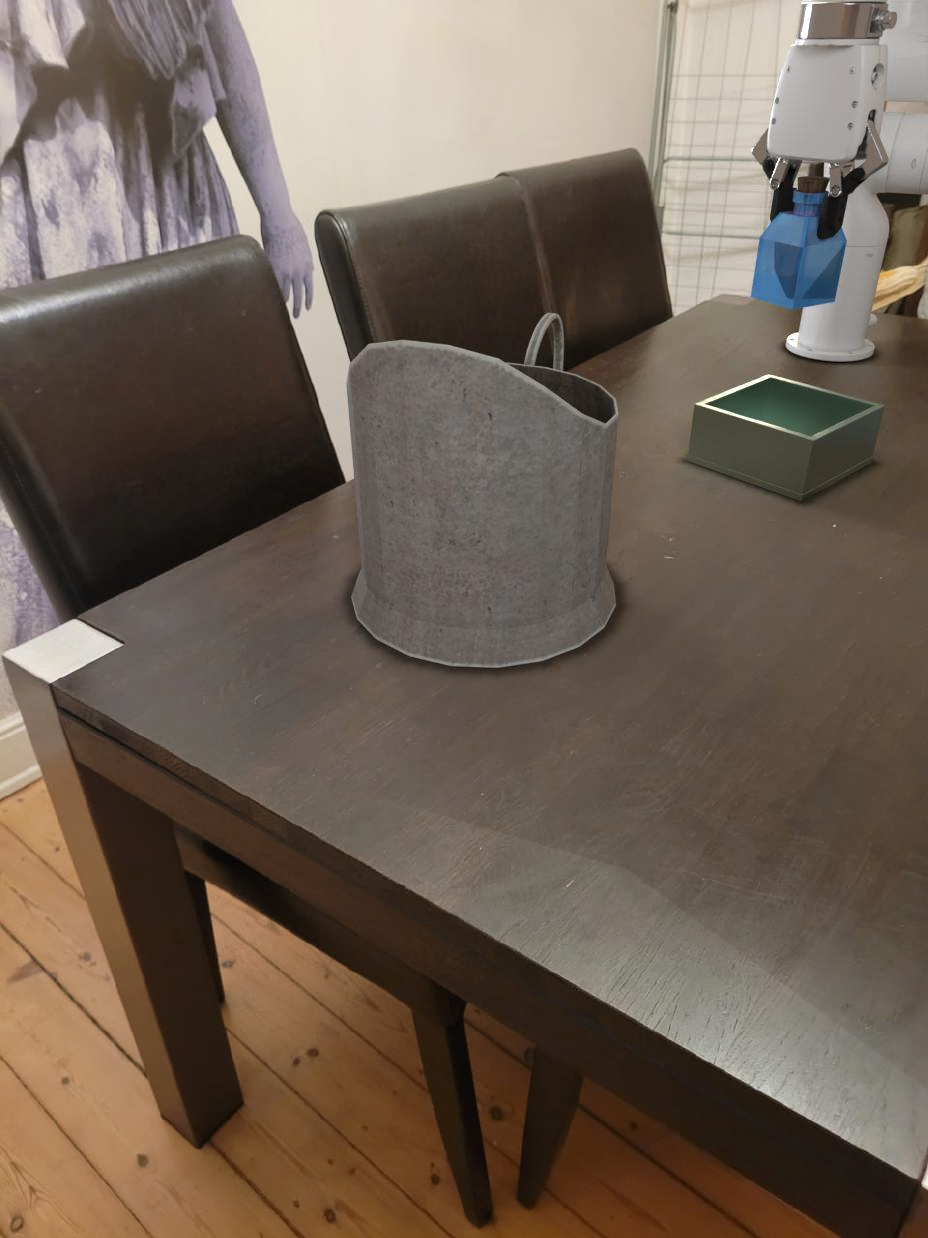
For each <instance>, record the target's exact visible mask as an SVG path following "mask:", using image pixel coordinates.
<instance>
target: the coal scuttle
mask: <svg viewBox="0 0 928 1238" xmlns="http://www.w3.org/2000/svg"><path fill="white" fill-rule="evenodd" d="M550 325H551V327H552V332H553V364H552V368H551V367H548V366H541V365H536V360H537V356H538V353H539V349H540V346H541V343H542V341H543V339H544V336H545V333H546V331H547V329H548V328H549V326H550ZM564 333H565V332H564V325H563V320H562V318H561V316H560V315H559V314H558V313H554V312H547V313H545V314H544V315H543V316H542V317H541V318H540V319H539V321H538V323H537V324H536V326H535V328H534V330H533V332H532V335H531V338H530V340H529V342H528V346H527V349H526V353H525V357H524V361H523V363H516V362H505V361H503V360H502V359H500V358H498V357H494V356H491V355H487V354H484V353H480V352H476V351H473V350H469V349H466V348H462V347H458V346H453V345H450V344H445V343H444V344H443V343H435V342H426V341H419V340H409V339H398V340H391V341H383V342H372V343H368V344H367V345H366V346H365V347H364V348H363V349H361V351H360V352H359V353H358V354H357V356H355V358H353V360H351V362H350V363H349V365H348V371H347V377H346V383H345V384H346V395H347V396H346V397H347V398H346V399H347V408H348V410H347V411H348V421H349V432H350V445H351V457H352V467H353V470H352V471H353V480H354V481H353V483H354V495H355V505H356V516H357V518H356V519H357V528H358V529H357V531H358V541H359V553H360V566H361V568H360V570H359V573H358V575H357V578H356V582H355V584H354V588H353V590H352V592H351V596H350V598H351V602H352V605H353V609H354V613H355V617H356V620H357V621H358V622H359V623H360V624H361V625H362V626H363V627H364V628H365V629H366V630H367V631H368V633H370V635H371V636H372V637H373V638H374V639H375V640H376V641H378V642H380V643H382V644H384V645H386V646H388V647H390V648H392V649H394V650H396V651H397V652H400V653H402V654H404V655H406V656H407V657H409V658H410V657H411V658H415V659H419V660H423V661H427V662H431V663H435V664H440V665H444V666H449V667H459V668H460V667H461V668H484V669H485V668H487V669H489V668H490V669H500V668H506V667H512V666H520V665H526V664H533V663H540V662H544V661H546V660H549V659H552V658H554V657H557V656H560V655H563V654H564V653H567V652H570V651H573V650H576V649H578V648H580V647H581V646H583V645H584V644H585V643H587V642H588V641H589V640H590V639H592V638H593V637H594V636H596V635H597V634H598V633H600V632H601V631H602V630H604V629H605V627H606V626H607V624H608V621H609V620H610V617H611V616H612V614H613V612H614V610H615V608H616V606H617V602H616V593H615V584H614V581H613V578H612V576H611V572H610V571H609V568H608V566H607V558H608V547H609V535H610V524H611V523H610V522H611V513H612V512H611V509H612V501H613V500H612V498H613V487H614V486H613V485H614V474H615V463H616V462H615V461H616V450H617V437H618V426H619V408H618V402H617V399H616V398H615V397H614V396H613V395H612V393H610V392H609V391H608V390H606V388H605V387H603V386H602V385H601V384H599V383H597V382H594V381H592V380H590V379H588V378H585V377H583V376H581V375H578V374H576V373H573V372H568V371H564V357H565V356H564V354H565V352H564V351H565V334H564Z"/></svg>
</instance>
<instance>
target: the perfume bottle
mask: <svg viewBox="0 0 928 1238" xmlns="http://www.w3.org/2000/svg"><path fill="white" fill-rule="evenodd" d="M828 183H829V178H827V177H824V176H820V175H819V176H818V175H803V176H797V190H794V193H793V199H792V201H793V202H795V204H794V210H793V211H787V212H779V215H777V216H776V218H775V219H774V220H773V221H772V222H771V221H770V223H769V225H768V226H767V227H766V228H765V229H764V231H763V232H762V234H760V236H759V238H758V246H757V253H756V257H755V258H756V259H755V265H754V273H753V279H752V286H751V292H750V298H752V299H756V300H760V301H762V302H766V303H769V304H772V305H775V306H779V307H782V308H785V309H789V310H792V311H793V310H799V309H803V308H804V307H810V306H815V305H820V304H826V303H831V302H835V298H836V293H837V288H838V283H839V278H840V273H841V268H842V263H843V258H844V253H845V248H846V243H847V239H846V237H845V235H844V232H843V230H842V227H841V229H840V230H839V231H838V232H837V234H836V235H835V236H834V237H831V238H827V239H818V237H817V229H818V224H819V218H820V213H821V207H822V202H823V199H824V198H825V196H828V195H829V191H826V188H827V185H828Z"/></svg>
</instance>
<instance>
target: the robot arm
mask: <svg viewBox="0 0 928 1238" xmlns="http://www.w3.org/2000/svg"><path fill="white" fill-rule="evenodd" d="M799 12H800V13H799V18H798V25H797V31H796V39H795V43H794V44H789V47H788V50H787V52H786V55H785V58H784V61H783V64H782V66H781V71H780V73H779V77H778V81H777V86H776V89H775V94H774V97H773V102H772V107H771V110H770V111H771V112H770V118H769V122H768V127H767V129H765V131H764V132H763V134H762V135H761V136H760V137H759V138H758V141H756V142H755V144H754V145H753V146H752V148H751V155H752V156H753V158H754V159H755V160H756V161H757V163H759V165H760V166H761V168H762V170H763V172H764V174H765V176H766V177H767V179H768V180H769V188H770V189H771V190H772V191H773V195H772V200H771V206H770V212H769V222H770V223H771V222H772V221H773V220H774V219H775V218H776V216H777V215H779V212H787V211H793V210H794V204H795V202H793V201H792V199H793V193H794V190H797V189H798V187H794V184H795V182H796V178H797V177H798V174H799V172H800V169H801V166H802V163H803V162H804V161H805V162H814V163H815V162H816V163H824V164H823V177H827V178H829V183H828V185H827V188H826V191H829V195H828V196H825V198H824V199H823V202H822V207H821V213H820V218H819V224H818V229H817V237H818V239H827V238H831V237H834V236H835V235H836V234H837V232H838V231H839V230H840V229H841V227H842V230H843V232H844V235H845V237H846V239H847V243H846V248H845V253H844V258H843V263H842V268H841V273H840V278H839V283H838V288H837V293H836V298H835V302H831V303H826V304H820V305H815V306H810V307H804V308H802V310H801V311H802V312H801V317H800V323H799V328H798V332H794V333H792V334H790V335H789V336H788V337H787V338H786V342H785V348H786V349H787V350H788V351H789V352H791V353H792V354H795V355H797V356H800V357H803V358H806V359H811V360H816V361H823V362H834V363H835V362H839V363H840V362H841V363H843V362H845V363H847V362H858V361H862V360H866V359H868V358H870V357H872V356H873V354H874V353H875V349H876V346H875V344H874V343H873V342H872V341H871V340H870V339H868V338H866V337H867V333H868V329H871V328H873V327H875V326H877V324H878V317H877V315H876V314H873V313H872V311H873V307H874V302H875V297H876V292H877V290H878V289H877V288H878V284H879V280H880V275H881V270H882V267H883V262H884V258H885V254H886V253H885V252H886V248H887V245H888V244H887V243H888V241H889V240H888V239H889V234H890V220H889V216H888V214H887V212H886V210H885V209H884V207H883V205H882V203H881V201H880V199H879V198H878V195H877V194H887V193H889V194H893V193H894V194H910V195H928V113H911V112H901V111H900V112H899V111H897V112H896V111H885V105H886V104H885V103H886V102H890V103H891V102H892V103H894V102H895V103H928V0H801V5H800V11H799Z"/></svg>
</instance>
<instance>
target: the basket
mask: <svg viewBox="0 0 928 1238" xmlns="http://www.w3.org/2000/svg"><path fill="white" fill-rule="evenodd" d="M885 408H886V404H883V403H877V402H875V401H871V400H867V399H863V398H859V397H855V396H851V395H849V394H844V393H841V392H837V391H833V390H830V389H825V388H822V387H818V386H815V385H812V384H811V385H810V384H807V383H803V382H799V381H796V380H792V379H788V378H784V377H781V376H777V375H773V374H766V375H762V376H760V377H758V378H756V379H754V380H751V381H748V382H746V383H743V384H741V385H738V386H736V387H733V388H730V389H729V390H725V391H723V392H721V393H718V394H715V395H713V396H710V397H709V398H705V399H703V400H701V401H698V402H696V403H694V406H693V412H692V413H693V414H692V419H691V420H692V421H691V429H690V436H689V444H688V453H687V459H686V461H687V462H689V463H691V464H692V463H693V464H695V465H698V466H701V467H703V468H705V469H708V470H711V471H714V472H718V473H720V474H722V475H725V476H729V477H730V478H731V477H732V478H734V479H737V480H739V481H742V482H745V483H747V484H751V485H752V486H753V485H754V486H756V487H759V488H762V489H765V490H767V491H770V492H772V493H776V494H778V495H782V496H785V497H787V498H790V499H793V500H796V501H798V502H804V501H806V500H807V499H809V498H810V497H813V496H814V495H816V494H818V493H819V492H822V491H823V490H825V489H827V488H829V487H830V486H832V485H834V484H836V483H838V482H839V481H841V480H843V479H845V478H847V477H848V476H850V475H852V474H853V473H856V472H858V471H859V470H861V469H863V468H864V467H867V466H868V465H870V464H872V462H873V457H874V453H875V448H876V445H877V441H878V437H879V434H880V430H881V429H880V428H881V425H882V420H883V416H884V412H885Z"/></svg>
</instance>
